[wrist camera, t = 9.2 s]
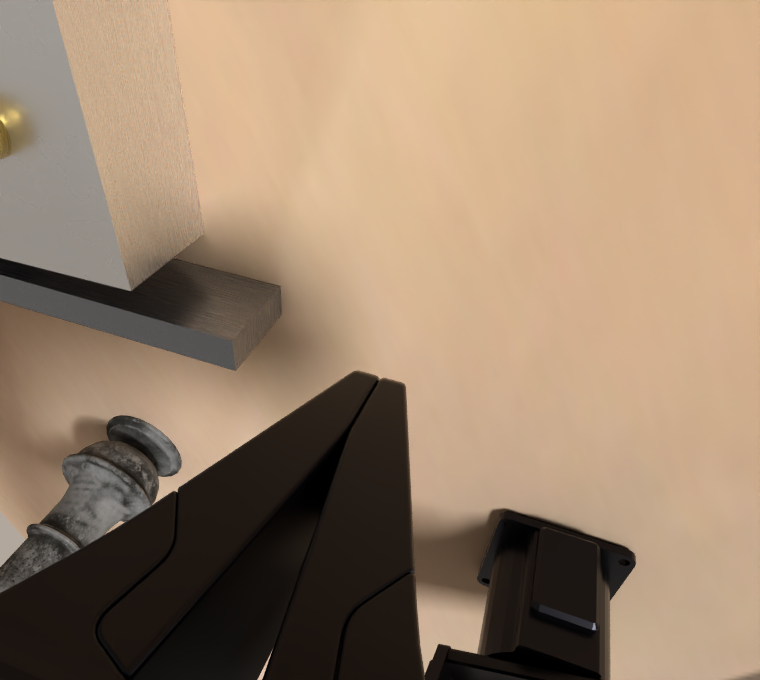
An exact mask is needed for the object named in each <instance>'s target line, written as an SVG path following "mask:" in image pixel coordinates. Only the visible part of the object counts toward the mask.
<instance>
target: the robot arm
mask: <svg viewBox="0 0 760 680" xmlns="http://www.w3.org/2000/svg"><path fill="white" fill-rule="evenodd" d="M635 565H636V556H635V554H634V553H633V552H632V551H630V550H628V549H624V548H621V547H618V546H615V545H612V544H609V543H606V542H602V541H599V540H596V539H593V538H590V537H587V536H584V535H580V534H577V533H574V532H571V531H568V530H565V529H562V528H558V527H555V526H552V525H549V524H546V523H543V522H540V521H536V520H533V519H530V518H527V517H524V516H521V515H518V514H514V513H511V512H504V513H501V515H500V517H499V519H498V522H497V524H496V527H495V530H494V532H493V535H492V538H491V540H490V543H489V546H488V548H487V551H486V553H485V556H484V559H483V561H482V564H481V567H480V569H479V572H478V577H477V580H478V581H479V582H480V583H481V584H483V585H485V586H488V587H489V590H488V595H487V601H486V607H485V613H484V618H483V624H482V630H481V635H480V641H479V647H478V653H477V654H475V653H470V652H465V651H460V650H455V649H451V647H450V646H447V645H442V644H438V646H437V649H436V652H435V654H434V657H433V660H431V661H430V663H429V665H428V668H427V671H426V673H425V675H424V668H423V661H422V654H421V648H420V637H419V625H418V614H417V600H416V578H415V575H414V571H415V564H414V543H413V523H412V502H411V482H410V461H409V440H408V420H407V399H406V386H405V384H404V383H401V382H398V381H394V380H391V379H387V378H382V379H379V378H378V376H376V375H372V374H369V373H365V372H362V371H354V372H352V373H350V374H349V375H347V376H346V377H344V378H343V379H341V380H340V381H338V382H337V383H335V384H334V385H332V386H331V387H329V388H328V389H326V390H325V391H323V392H322V393H320V394H319V395H317V396H316V397H314V398H313V399H311V400H310V401H308V402H307V403H305V404H304V405H302V406H301V407H299V408H298V409H296V410H295V411H293V412H292V413H290V414H289V415H287V416H286V417H284V418H283V419H281V420H280V421H278V422H277V423H275V424H274V425H272V426H271V427H269V428H268V429H266V430H265V431H263V432H262V433H260V434H259V435H257V436H256V437H254V438H253V439H251V440H250V441H248V442H247V443H245V444H244V445H242V446H241V447H239V448H238V449H236V450H235V451H233V452H232V453H230V454H229V455H227V456H226V457H224V458H223V459H221V460H220V461H218V462H217V463H215V464H214V465H212V466H211V467H209V468H208V469H206V470H205V471H203V472H202V473H200V474H199V475H197V476H196V477H194V478H193V479H191V480H190V481H188V482H187V483H185V484H184V485H182V486H181V487H179V488H178V493H177V492H176V491H173V492H171V493H170V494H168V495H167V496H165V497H164V498H162V499H161V500H159V501H158V502H156V503H155V504H153V505H152V506H150V507H149V508H147V509H145V510H144V511H142V512H141V513H139V514H138V515H136V516H134V517H133V518H131V519H130V520H128V521H126V522H125V523H123V524H122V525H120V526H119V527H117V528H115V529H114V530H112V531H110V532H109V533H107V534H105V535H103V536H102V537H100V538H98V539H96V540H95V541H93V542H91V543H89V544H88V545H86V546H84V547H82V548H81V549H79V550H77V551H75V552H74V553H72V554H70V555H68V556H66V557H65V558H63V559H61V560H59V561H57V562H55V563H54V564H52V565H50V566H48V567H46V568H44V569H43V570H41V571H39V572H37V573H35V574H33V575H32V576H30V577H28V578H26V579H24V580H22V581H21V582H19V583H17V584H15V585H13V586H11V587H10V588H8V589H6V590H4V591H2V592H0V680H257V679H258V677H259V675H260V673H261V671H262V669H263V667H264V665H265V663H266V661H267V659H268V657H269V656H270V654H271V656H270V659H269V662H268V665H267V668H266V671H265V673H264V676H263V679H262V680H610V600H611V599H612V597H613V596H614V595H615V593H616V592H617V591H618V589H619V588H620V586H621V585H622V584H623V582H624V581H625V579H626V578H627V577H628V575H629V574H630V573H631V571H632V570H633V568H634V567H635ZM271 652H272V653H271Z"/></svg>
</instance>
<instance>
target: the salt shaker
mask: <svg viewBox="0 0 760 680" xmlns="http://www.w3.org/2000/svg"><path fill="white" fill-rule="evenodd" d="M107 435H108V438H109V440H110V441H101V442H97V443H94V444H92V445H90V446H88V447H86V448H84V449H83V450H81V451H80V452H79V453H78V454H72V455H69V456H68V457H66V458H65V459H64V461H63V464H62V470H63V475H64V477H65V479H66V480H67V482H68V484H69V485H70V486H69V488H68V490H67V491H66V493H65V495H64V496H63V498H62V499H61V501H60V502H59V503H58V504H57V505H56V506H55V507H54V508H53V509H52V510H51V511H50V513H49V514H48V515H47V516H46V517H45V518H44V519H43V520H42V521H41V522H40V523H39V524H31V525H29V526H28V527H27V534H28V538H27V539H26V540H25V541H24V543H23V544H22V545H21V546H20V547H19V548H18V549H17V550H16V551H15V552H14V553H13V554H12V555H11V556H10V558H9V559H8V560H7V561H6V562H5V563H4V564H3V565H2V566H1V567H0V592H2V591H4V590H6V589H8V588H10V587H11V586H13V585H15V584H17V583H19V582H21V581H22V580H24V579H26V578H28V577H30V576H32V575H33V574H35V573H37V572H39V571H41V570H43V569H44V568H46V567H48V566H50V565H52V564H54V563H55V562H57V561H59V560H61V559H63V558H65V557H66V556H68V555H70V554H72V553H74V552H75V551H77V550H79V549H81V548H82V547H84V546H86V545H88V544H89V543H91V542H93V541H95V540H96V539H98V538H100V537H102V536H103V535H104V534H105V533H106V532H107V531H108V530H109V529H110V528H111V527H112V526H114V525H115V524H116V523H118V522H119V521H123V522H126V521H128V520H130V519H131V518H133V517H134V516H136V515H138V514H139V513H141V512H142V511H144V510H145V509H147V508H149V507H150V506H152V504H153V503H154V501H155V500H156V496H157V493H158V489H159V480H158V476H161V477H167V476H173V475H175V474H176V473H178V471H179V470H180V468H181V462H182V461H181V457H180V454H179V452H178V450H177V449H176V447H175V446H174V444H173V443H172V442H171V441H170V440H169V438H168V437H166V436H165V435H164V434H163V433H162V432H161V431H160V430H158V429H157V428H155V427H154V426H152V425H150V424H149V423H147V422H145V421H142V420H140V419H137V418H134V417H131V416H117V417H114V418H113V419H111V420H110V421H109V422H108V425H107Z"/></svg>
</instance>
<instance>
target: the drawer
mask: <svg viewBox="0 0 760 680" xmlns="http://www.w3.org/2000/svg"><path fill="white" fill-rule="evenodd" d="M203 234H204V227H203V221H202V214H201V208H200V202H199V195H198V189H197V183H196V176H195V170H194V164H193V157H192V151H191V145H190V138H189V132H188V126H187V119H186V113H185V107H184V100H183V94H182V88H181V81H180V75H179V69H178V62H177V56H176V50H175V43H174V37H173V31H172V24H171V18H170V12H169V5H168V0H0V258H2V259H6V260H10V261H14V262H18V263H22V264H26V265H30V266H34V267H38V268H42V269H46V270H50V271H54V272H58V273H62V274H65V275H69V276H73V277H77V278H81V279H85V280H89V281H93V282H97V283H101V284H105V285H109V286H113V287H117V288H121V289H125V290H128V291H132V290H133V289H134V288H136V287H137V286H138V285H139V284H141V283H142V282H143V281H144V280H146V279H147V278H148V277H149V276H151V275H152V274H153V273H155V272H156V271H157V270H158V269H160V268H161V267H162V266H163V265H165V264H166V263H167V262H168V261H170V260H171V259H172V258H174V257H175V256H176V255H177V254H179V253H180V252H181V251H182V250H184V249H185V248H186V247H187V246H189V245H190V244H191V243H193V242H194V241H195V240H196V239H198V238H199V237H200V236H201V235H203Z"/></svg>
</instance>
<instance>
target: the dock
mask: <svg viewBox="0 0 760 680" xmlns="http://www.w3.org/2000/svg"><path fill="white" fill-rule="evenodd" d="M0 301H2V302H6V303H9V304H12V305H16V306H19V307H23V308H26V309H29V310H33V311H36V312H39V313H43V314H46V315H49V316H53V317H56V318H60V319H63V320H66V321H70V322H73V323H76V324H80V325H83V326H87V327H90V328H93V329H97V330H100V331H103V332H107V333H110V334H113V335H117V336H120V337H124V338H127V339H130V340H134V341H137V342H140V343H144V344H147V345H151V346H154V347H157V348H161V349H164V350H167V351H171V352H174V353H177V354H181V355H184V356H188V357H191V358H194V359H198V360H201V361H204V362H208V363H211V364H214V365H218V366H221V367H225V368H228V369H231V370H235V371H236V370H237V369H238V367H239V366H240V365H241V364H242V362H243V361H244V360H245V359H246V357H247V356H248V355H249V354H250V353H251V351H252V350H253V349H254V348H255V346H256V345H257V344H258V343H259V342H260V340H261V339H262V338H263V337H264V335H265V334H266V333H267V332H268V331H269V329H270V328H271V327H272V326H273V324H274V323H275V322H276V321H277V320H278V318H279V317H280V316H281V291H280V286H276V285H273V284H269V283H265V282H261V281H257V280H253V279H249V278H246V277H242V276H238V275H234V274H230V273H226V272H223V271H219V270H215V269H211V268H207V267H203V266H199V265H196V264H192V263H188V262H184V261H180V260H176V259H171V260H170V261H168V262H167V263H166V264H165V265H163V266H162V267H161V268H160V269H158V270H157V271H156V272H155V273H153V274H152V275H151V276H149V277H148V278H147V279H146V280H144V281H143V282H142V283H141V284H139V285H138V286H137V287H136V288H134V289H133V290H132V291H128V290H125V289H121V288H117V287H113V286H109V285H105V284H101V283H97V282H93V281H89V280H85V279H81V278H77V277H73V276H69V275H65V274H62V273H58V272H54V271H50V270H46V269H42V268H38V267H34V266H30V265H26V264H22V263H18V262H14V261H10V260H6V259H2V258H0Z"/></svg>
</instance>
